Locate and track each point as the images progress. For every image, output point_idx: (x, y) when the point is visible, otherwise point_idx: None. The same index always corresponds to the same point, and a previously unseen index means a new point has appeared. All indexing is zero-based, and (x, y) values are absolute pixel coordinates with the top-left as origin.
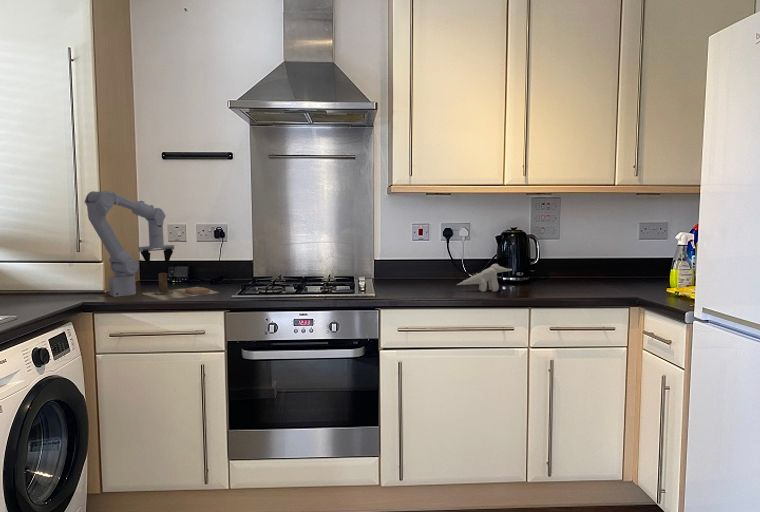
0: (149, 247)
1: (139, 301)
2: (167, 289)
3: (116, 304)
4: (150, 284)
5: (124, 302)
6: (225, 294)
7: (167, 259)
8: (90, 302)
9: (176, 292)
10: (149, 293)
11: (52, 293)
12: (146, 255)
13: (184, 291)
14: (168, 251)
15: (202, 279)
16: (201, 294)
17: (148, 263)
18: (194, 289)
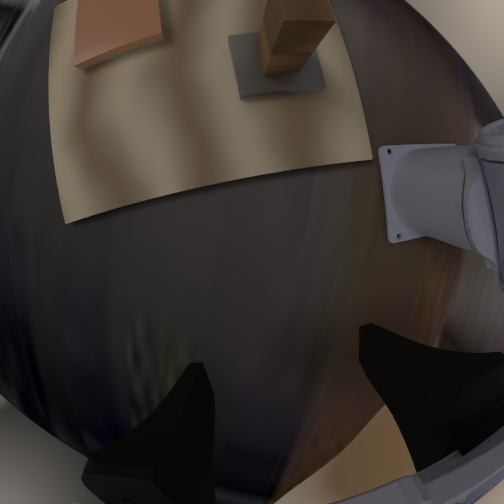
0: (499, 459)
1: (380, 27)
2: (258, 40)
3: (441, 39)
4: (258, 456)
5: (425, 52)
6: (44, 16)
7: (185, 401)
8: None
9: (202, 70)
10: (339, 127)
11: None
12: (475, 357)
13: (156, 82)
14: (146, 467)
15: (81, 448)
16: None
17: (397, 336)
18: (128, 7)
